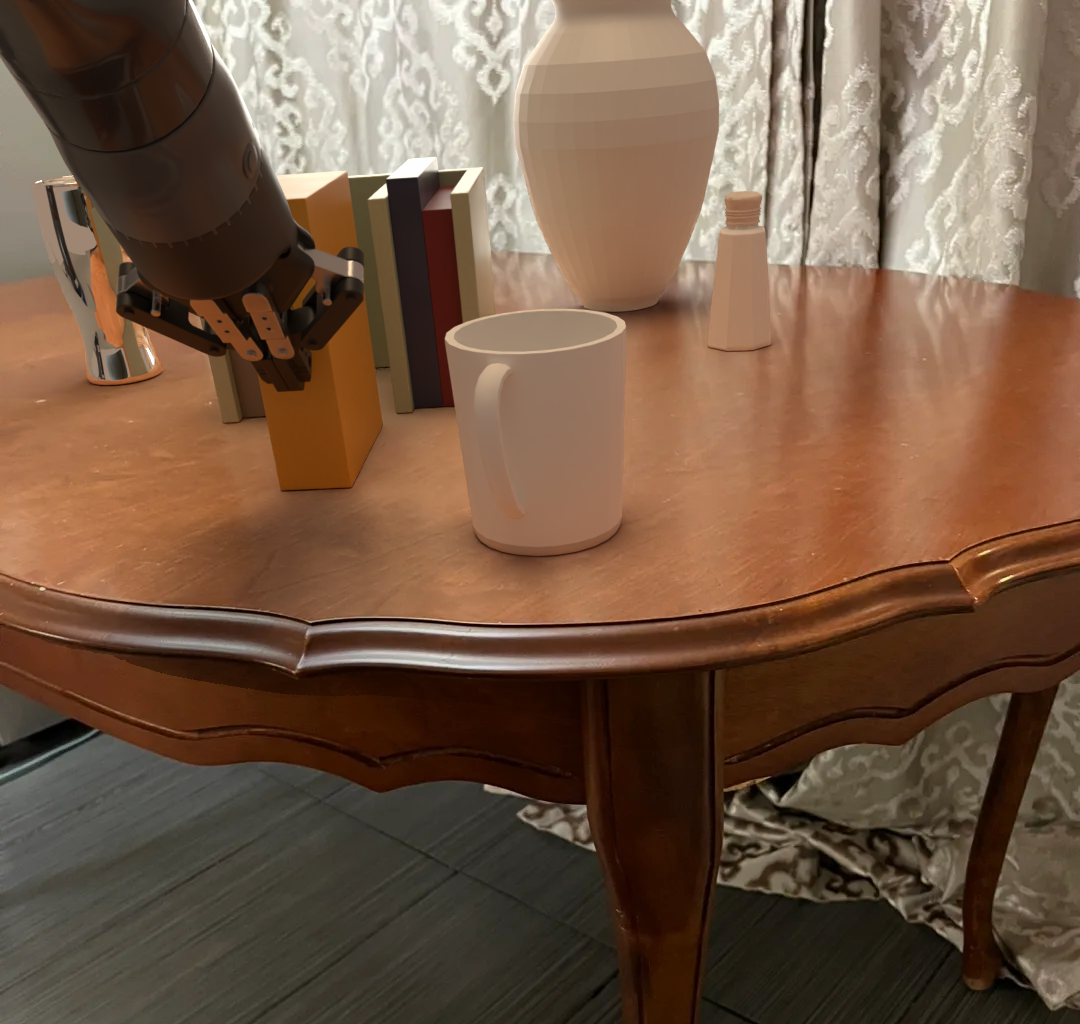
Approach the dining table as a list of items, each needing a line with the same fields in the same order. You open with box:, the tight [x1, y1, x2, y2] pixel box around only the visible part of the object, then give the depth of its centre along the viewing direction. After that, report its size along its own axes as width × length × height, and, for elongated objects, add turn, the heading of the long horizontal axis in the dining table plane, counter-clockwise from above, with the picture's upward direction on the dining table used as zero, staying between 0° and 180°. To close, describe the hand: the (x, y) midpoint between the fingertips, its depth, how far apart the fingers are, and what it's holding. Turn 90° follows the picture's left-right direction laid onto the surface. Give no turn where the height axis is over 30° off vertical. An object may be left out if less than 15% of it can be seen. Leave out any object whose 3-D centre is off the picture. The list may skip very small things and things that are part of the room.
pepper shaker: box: [707, 190, 772, 352], centre depth 87 cm, size 5×5×11 cm
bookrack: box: [199, 156, 497, 424], centre depth 82 cm, size 19×14×15 cm
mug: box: [445, 308, 627, 557], centre depth 57 cm, size 11×9×10 cm
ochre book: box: [258, 170, 384, 491], centre depth 68 cm, size 4×12×16 cm, turn 178°
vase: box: [512, 0, 720, 313], centre depth 98 cm, size 18×18×25 cm
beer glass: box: [29, 174, 164, 386], centre depth 90 cm, size 7×7×15 cm
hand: (291, 376), depth 63 cm, fingers closed
